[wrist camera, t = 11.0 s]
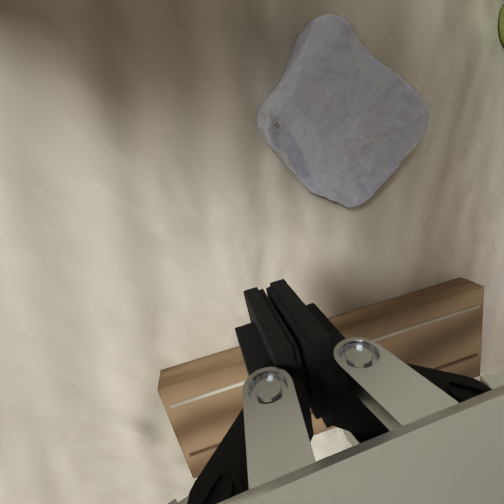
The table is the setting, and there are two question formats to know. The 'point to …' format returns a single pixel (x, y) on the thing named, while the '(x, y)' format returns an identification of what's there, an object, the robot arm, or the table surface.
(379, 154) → the stone block
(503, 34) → the plant pot
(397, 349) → the walnut board
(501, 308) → the table surface
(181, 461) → the table surface
